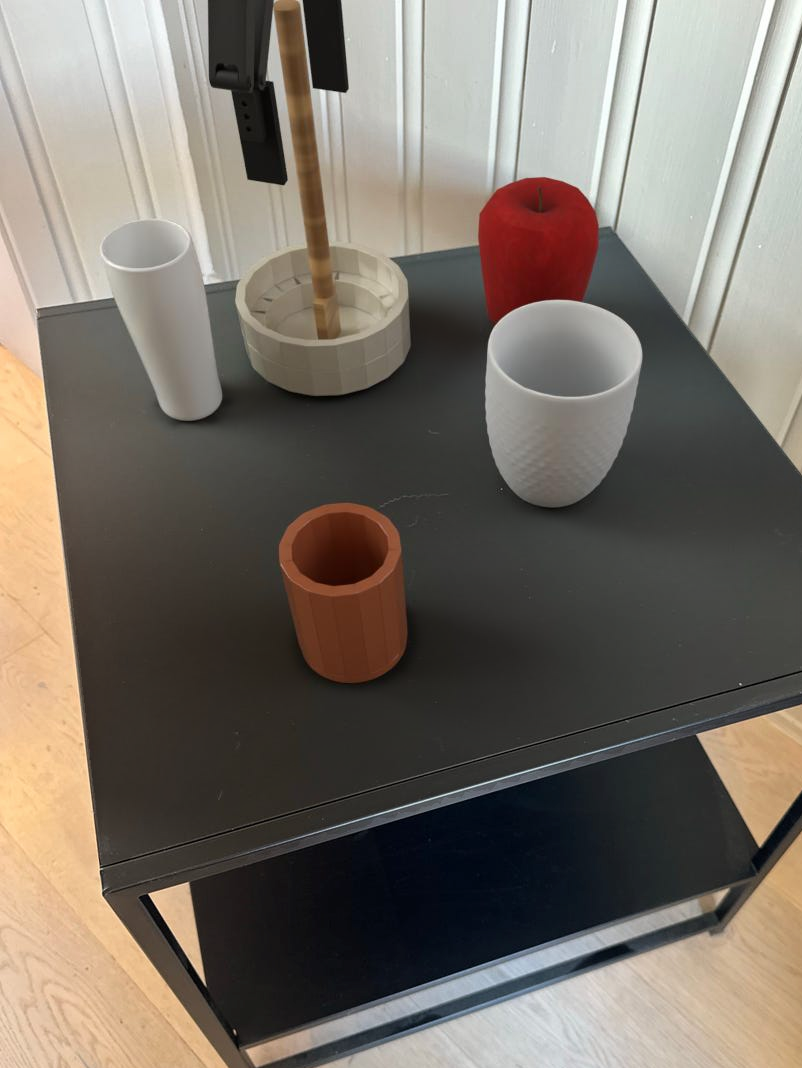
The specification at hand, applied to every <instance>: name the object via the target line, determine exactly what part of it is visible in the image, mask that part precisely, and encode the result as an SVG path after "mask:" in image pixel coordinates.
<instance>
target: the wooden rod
mask: <svg viewBox="0 0 802 1068" xmlns="http://www.w3.org/2000/svg"><path fill="white" fill-rule="evenodd" d="M273 15H274V23H275V29H276V39H277V45H278V51H279V58H280V65H281V72H282V80H283V86H284V94H285V100H286V101H285V102H286V108H287V114H288V115H287V116H288V123H289V129H290V136H291V144H292V150H293V158H294V162H295V163H294V164H295V171H296V178H297V179H296V180H297V186H298V193H299V200H300V207H301V215H302V221H303V227H304V235H305V243H307V250H308V257H309V264H310V271H311V278H312V285H313V293H314V295H315V296H316V298H315V300H314V302H313V308H314V315H315V322H316V329H317V336H318V340H328V339H337V338H338V336H339V334H340V332H341V326H340V318H339V309H338V301H337V292H336V284H335V283H334V282H333V273H332V265H331V257H330V248H329V241H330V239H329V235H328V233H329V232H328V224H327V223H328V222H327V218H326V216H327V215H326V210H325V209H326V208H325V199H324V191H323V183H322V174H321V165H320V158H319V150H318V142H317V141H318V140H317V132H316V125H315V115H314V108H313V100H312V92H311V90H312V89H311V83H310V75H309V66H308V57H307V50H306V48H307V47H306V40H305V34H304V24H303V17H302V15H303V14H302V8H301V3H300V1H298V0H276V1H274V4H273Z"/></svg>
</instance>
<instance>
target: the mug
mask: <svg viewBox="0 0 802 1068" xmlns="http://www.w3.org/2000/svg"><path fill="white" fill-rule="evenodd" d="M486 353H487V355H486V357H487V358H486V371H485V390H484V396H485V397H484V398H485V403H484V408H485V422H486V426H487V427H486V430H487V436H488V441H489V446H490V449H491V455H492V457H493V459H494V463H495V466H496V467H497V470H498V472H499V474H500V476H501V477H502V478H503V480H504V481H505V483H506V485H507V486H508V487H509V488H510V489H511V491H512V492H513V493H514V494H515V495H517V496H518V497H519V498H520V499H521V500H523V501H524V502H527V503H528V504H531V505H533V506H538V507H542V508H562V507H567V506H570V505H574V504H575V503H577V502H580V501H581V500H582V499H583V498H585V497H587V496H588V495H589V494H590V493H592V492H593V491H594V490H595V489H596V488H597V487H598V486H599V485H600V484H601V483H602V481H603V480H604V478H606V476H607V475H608V472H609V471H610V470H611V468H612V466H613V464H614V461H615V460H616V458H617V457H618V455H619V451H620V450H621V448H622V447H623V443H624V439H625V437H626V436H627V431H628V427H629V424H630V421H631V415H632V412H633V411H634V405H635V404H634V402H635V399H636V396H637V388H638V385H639V379H640V374H641V370H642V369H641V368H642V364H643V348H642V344H641V341H640V339H639V336H638V335H637V333H636V332H635V330H634V329H633V328H632V327H631V326H630V325H629V324H628V323H627V322H626V321H625V320H624V319H623V318H621V317H620V316H618V315H617V314H615V313H613V312H611V311H609V310H607V309H605V308H602V307H600V306H598V305H594V304H591V303H587V302H584V301H583V302H577V301H571V300H547V301H540V302H535V303H531V304H528V305H525V306H522V307H520V308H517V309H515V310H513V311H512V312H510V313H508V314H507V315H506V316H504V317H503V318H502V319H501V320H500V321H499V322H498V323H497V324H496V325H495V324H494V326H493V328H492V330H491V332H490V335H489V338H488V342H487V351H486Z"/></svg>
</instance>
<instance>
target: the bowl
mask: <svg viewBox="0 0 802 1068" xmlns="http://www.w3.org/2000/svg"><path fill="white" fill-rule="evenodd" d="M329 248H330V257H331V265H332V273H333V282H334V283H335V284H336V292H337V301H338V309H339V318H340V326H341V332H340V334H339V336H338V338H337V339H328V340H318V336H317V329H316V322H315V315H314V308H313V302H314V300H315V298H316V296H315V295H314V293H313V285H312V278H311V271H310V264H309V257H308V250H307V243H306V242H302V243H298V244H293V245H288V246H285V247H283V248H280V249H278V250H275V251H273V252H271V253H268V254H266V255H265V256H262V257H261V258H260V259H259V260H257V261H256V262H254V263H253V265H252V264H251V266H250V267H248V268H247V269H246V271H245V272H244V274H243V275H242V276H241V278H240V280H239V281H238V283H237V285H236V291H235V300H234V303H235V306H236V307H235V308H236V312H237V316H238V321H239V325H240V329H241V334H242V339H243V343H244V344H243V345H244V348H245V352H246V355H247V357H248V360H249V362H250V364H251V367H252V368H253V369H254V370H255V371H256V372H257V373H258V374H259V375H260V376H261V377H262V378H263V379H264V380H265V381H267V382H268V383H270V384H273V385H275V386H276V387H279V388H281V389H283V390H285V391H288V392H290V393H297V394H302V395H307V396H313V397H321V396H323V397H324V396H341V395H347V394H350V393H355V392H359V391H362V390H366V389H369V388H371V387H373V386H374V385H377V384H378V383H380V382H382V381H384V380H386V379H388V378H389V377H390V376H392V374H394V372H396V371H397V370H398V369H399V368H400V367H401V366H402V365H403V364H404V362H405V361H406V358H407V355H408V354H409V351H410V349H411V345H412V344H411V343H412V342H411V324H410V323H411V322H410V302H409V301H410V300H409V281H408V279H407V277H406V276H405V274H404V271H402V269H401V267H400V266H399V264H397V263H396V262H395V261H393V260H392V259H390V258H389V257H388V256H387V255H385V254H384V253H383V252H380V251H378V250H375V249H373V248H370V247H368V246H365V245H363V244H358V243H352V242H346V241H341V240H329Z"/></svg>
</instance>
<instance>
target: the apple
mask: <svg viewBox="0 0 802 1068" xmlns="http://www.w3.org/2000/svg"><path fill="white" fill-rule="evenodd" d="M599 226H600V225H599V221H598V216H597V212H596V210H595V208H594V207H593V205H592V203H591V202H590V200H589V198H588V197H587V196H586V195H585V194H584V193H583V192H582V190H581V189H580V188H579V187H577V186H575V185H573V184H570V183H568V182H566V181H563V180H560V179H555V178H550V177H546V176H537V177H535V176H534V177H524V178H522V179H519V180H516V181H513V182H510V183H508V184H505V185H504V186H502V187H499V188H497V189H496V190H495V192H494V193H493V194H492V196H491V197H490V198H489V199H488V201H487V202H486V204H484V206H483V208H482V209H481V211H480V212H479V214H478V231H477V232H478V233H477V239H478V240H477V241H478V250H479V258H480V267H481V276H482V282H483V289H484V297H485V304H486V313H487V318H488V319H489V320H490V321H491V322H492V324H494V326H495V325H496V324H497V323H498V322H499V321H500V320H501V319H502V318H503V317H504V316H506V315H507V314H508V313H510V312H512V311H513V310H515V309H517V308H520V307H522V306H525V305H528V304H531V303H535V302H540V301H547V300H571V301H577V302H583V303H584V299H585V296H586V293H587V290H588V286H589V283H590V280H591V276H592V272H593V269H594V265H595V262H596V257H597V254H598V251H599V234H600V233H599V230H600V229H599V228H600V227H599Z"/></svg>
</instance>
